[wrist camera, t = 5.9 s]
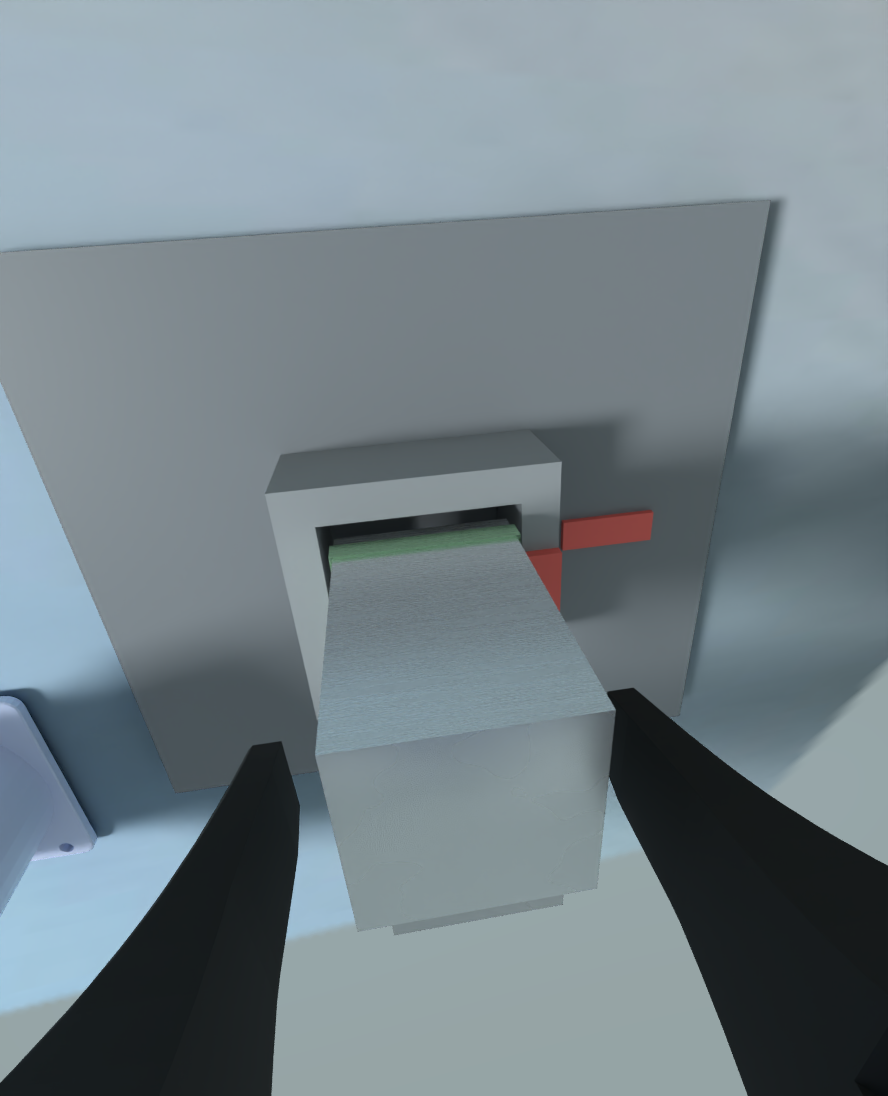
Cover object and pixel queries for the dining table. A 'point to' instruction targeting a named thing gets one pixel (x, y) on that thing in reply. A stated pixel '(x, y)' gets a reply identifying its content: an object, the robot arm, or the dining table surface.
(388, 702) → the white rectangular block
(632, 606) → the jack base
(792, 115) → the dining table surface
